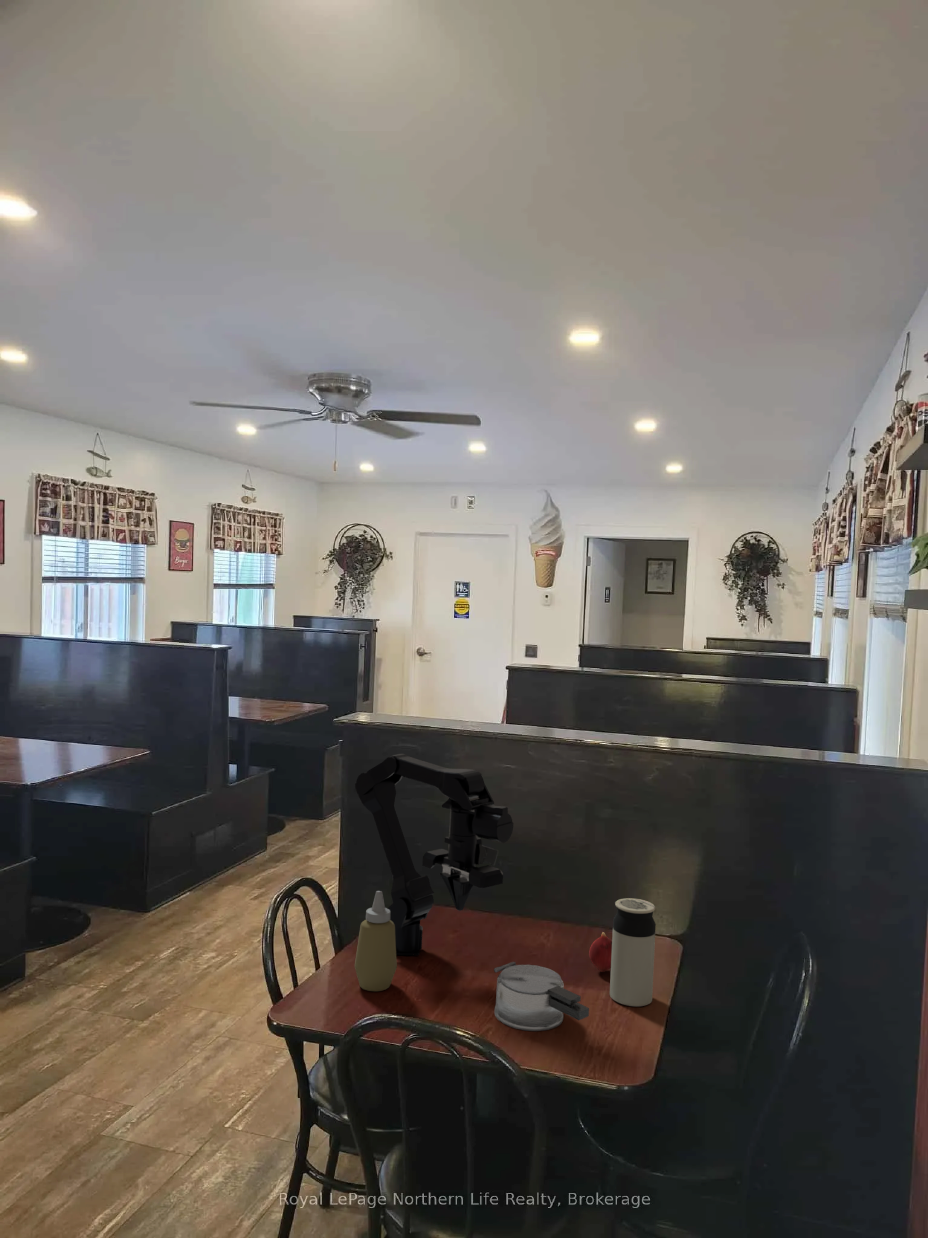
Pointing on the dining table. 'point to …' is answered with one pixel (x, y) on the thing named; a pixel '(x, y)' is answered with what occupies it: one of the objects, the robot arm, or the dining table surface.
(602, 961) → the onion
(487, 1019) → the dining table surface
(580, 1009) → the pot
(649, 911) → the travel mug
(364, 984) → the squeeze bottle
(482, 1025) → the dining table surface
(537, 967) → the lid
